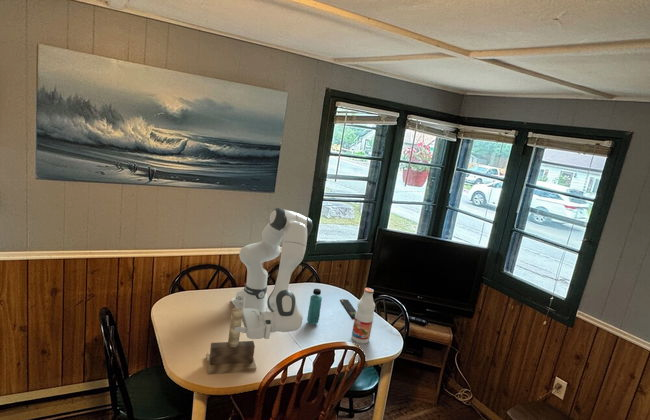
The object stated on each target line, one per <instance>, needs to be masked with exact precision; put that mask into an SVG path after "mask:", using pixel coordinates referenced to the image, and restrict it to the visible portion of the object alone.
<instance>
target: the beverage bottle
mask: <svg viewBox="0 0 650 420" xmlns="http://www.w3.org/2000/svg"><path fill="white" fill-rule="evenodd" d="M312 293H313V294H311V295H310V297H309V298H310V300H309V305H308V312H307V316H306V317H307V318H306V320H307V323H308V324H312V325H317V324H318V323H319V321H320V315H321V314H320V313H321V307H322V300H323V297H322V296H321V294H322V291H321V289H320V288H314V289H313V291H312Z"/></svg>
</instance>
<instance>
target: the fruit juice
mask: <svg viewBox="0 0 650 420" xmlns="http://www.w3.org/2000/svg"><path fill="white" fill-rule="evenodd" d="M374 292H375V291H374V289H373V288H372V287H371V288H370V287H365V288H364V290H363V294H362V297H361V298H360V299H358V302H357V308H356V309H357V310H356V314H355V319H353V326H352V330H351V331H352V332H351V339H352V341H354V342H355V343H358V344H367V343H368V342H369V341H370V337H371V333H372V328H373V323H374V312H375V309H376V304H375V302H374V297H373V294H374Z"/></svg>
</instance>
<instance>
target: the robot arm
mask: <svg viewBox="0 0 650 420" xmlns="http://www.w3.org/2000/svg"><path fill="white" fill-rule="evenodd" d="M312 229H313V220H312V219H311V218H310V217H308V216H306V215H302V214H301V213H298V212H296V211H292V210H289V209H284V208H281V207H276V208H274V209H273V210H272V211H271V213H270V215H269V219H268V223H267V224H266V225H265V227H264V229H263V230H262V231H261V237H262V240H261V241H259V242H254V243H249V244H247V245H244V246H243V247H241V248H240V250H239V253H238V255H239V256H238V257H239V259H240V262H242V264H244V265H245V266H246V271H247V275H246V282H243V286H244V287H243V288H242V289H240V290H238V291H237V292H236V295H235V297H233V298H231V300H230V301H231V303H232V305H233V306H234V308H241V309H242V310H243V311H242V320H241V321H242V324H243V327H242V326H241V327H239V326H235V332H240V333H242V334H245V335H246V338H248V339H251V340H261V339H265V340H269V339H270V336H271V333H275V332H276V333H277V332H281V333H289V332H296V331H298V330H299V329H300V328H301V327H302V323H303V319H304V318H303V313H302V312H301V311H300V310H299V308H298V305H297V302H296V296H295V294H294V293H293V292H292V291H290V290H289V289H288V288H289V285H290V281H291V277H292V274H293V272H294V271H295V269H296V268H297V267H298V266H299V265H300V264H301V262H302V261H303V260H304V257H305V253H306V250H307V242H308V236H309V235H310V234H311V232H312ZM281 242H282V245H281V246H280V244H281ZM279 256H280V259H279V265H278V266H279V267H278V270H277V271H278V272H277V275H276V279H275V283H274V287H273V290H272V291H271V293H270V294H269V296H268V293H267V291H268V278H269V277H268V276H269V273H268V271H267V270H266V269H265V268H264V267H263V263H265V262H269V261H272V260H274V259H276V258H278V257H279ZM267 309H268V310H269V311H267Z"/></svg>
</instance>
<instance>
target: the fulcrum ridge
mask: <svg viewBox="0 0 650 420" xmlns="http://www.w3.org/2000/svg"><path fill="white" fill-rule="evenodd" d="M255 347H256V346H255V342H254V340H246V341H245V340H244V341H243V340H242V341H240V340H239V345H238V346H237V347H230V346H228V341H222V342H218V341H217V342H211V343H210V349H209V354H208V353H207V354H206V355H205V358H206V359H205V360H206V369H207V370H208V371H207V374H208V375H213V374H214V375H215V374H217V373H218V374H227V373H228V374H230V373H231V374H232V373H243V372H245V373H247V372H257V365H256V360H255V358H254V355H255V349H256V348H255Z"/></svg>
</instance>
